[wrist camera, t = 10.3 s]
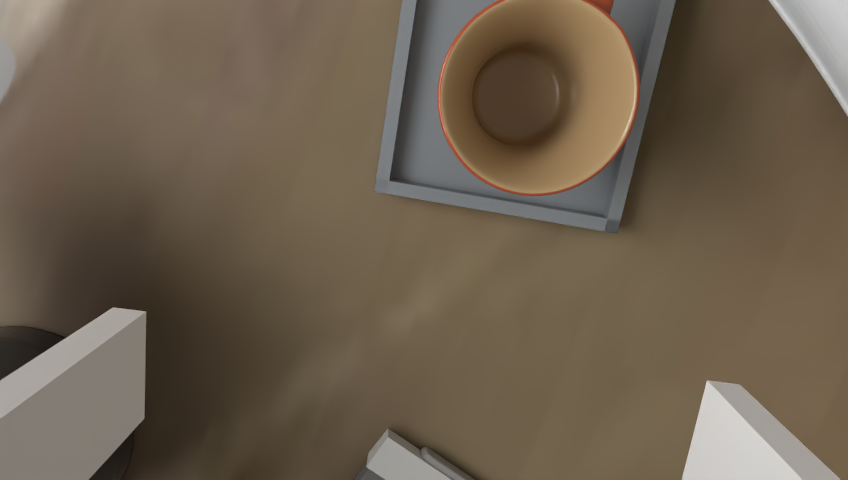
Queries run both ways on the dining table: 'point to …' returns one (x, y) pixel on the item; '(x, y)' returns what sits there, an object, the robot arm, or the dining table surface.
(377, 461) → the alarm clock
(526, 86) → the mug
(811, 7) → the salad plate
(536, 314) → the dining table surface
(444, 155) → the rest tray
